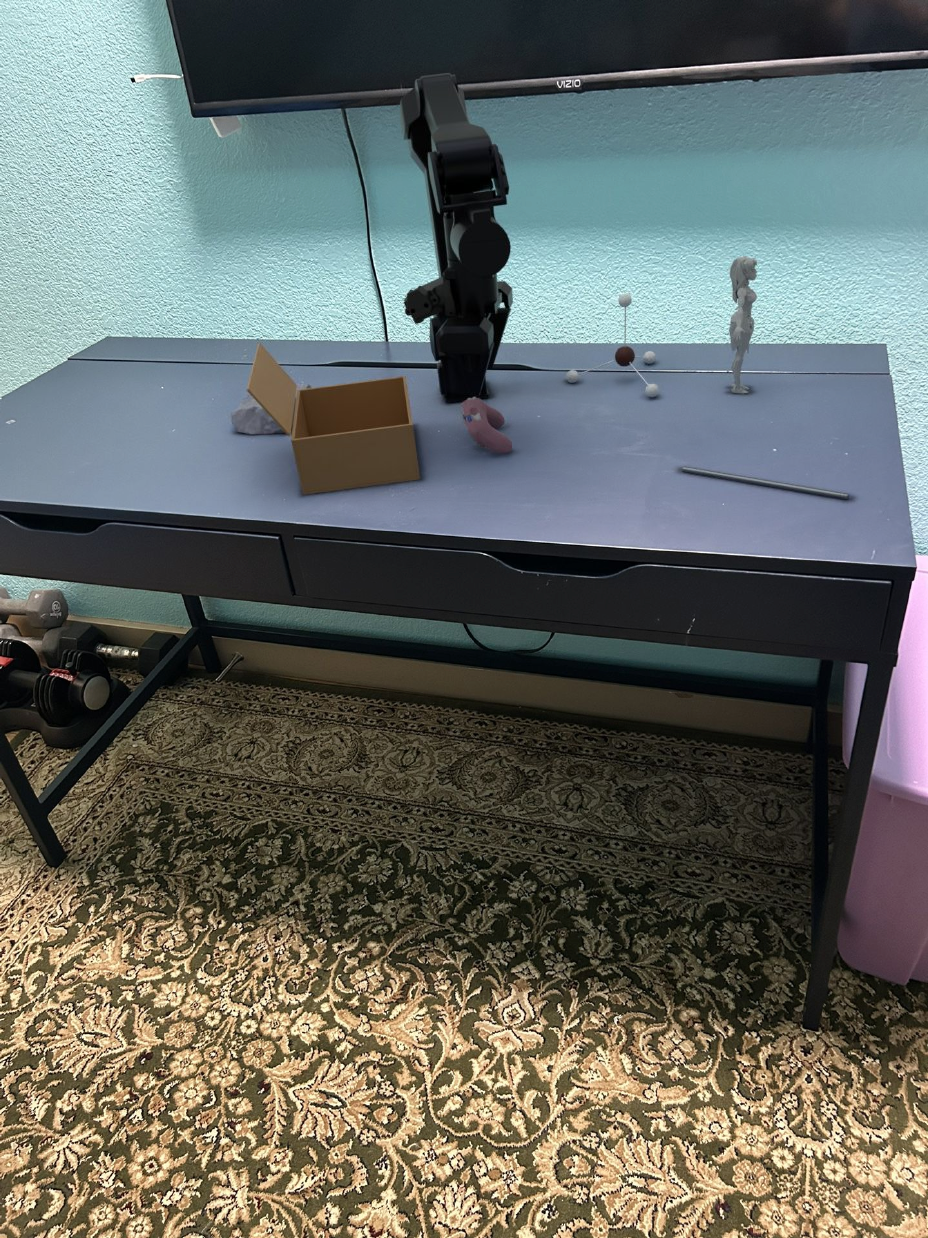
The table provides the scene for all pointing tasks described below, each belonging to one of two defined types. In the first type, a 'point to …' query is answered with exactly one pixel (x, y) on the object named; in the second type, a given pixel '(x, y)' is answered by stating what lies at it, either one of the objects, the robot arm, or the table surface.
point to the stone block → (257, 416)
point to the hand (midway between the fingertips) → (482, 382)
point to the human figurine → (741, 315)
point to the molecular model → (624, 355)
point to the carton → (354, 435)
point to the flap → (272, 389)
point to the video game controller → (485, 425)
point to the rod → (766, 483)
